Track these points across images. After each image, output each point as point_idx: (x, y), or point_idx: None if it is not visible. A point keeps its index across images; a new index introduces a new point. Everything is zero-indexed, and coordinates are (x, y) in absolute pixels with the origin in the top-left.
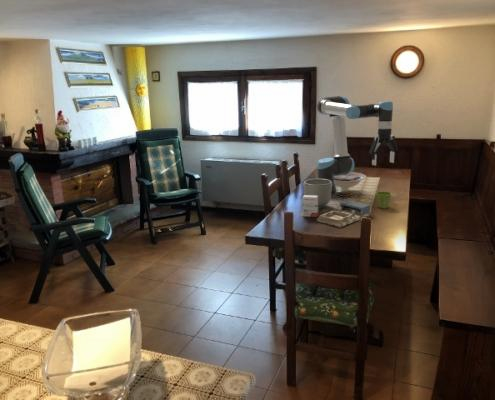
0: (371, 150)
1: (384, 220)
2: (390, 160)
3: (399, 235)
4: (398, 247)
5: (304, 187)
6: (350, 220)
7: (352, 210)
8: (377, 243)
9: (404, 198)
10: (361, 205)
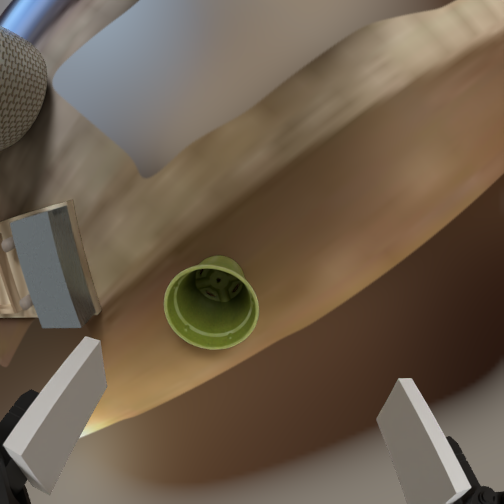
0: None
1: (109, 369)
2: (399, 405)
3: (83, 429)
4: None
5: None
6: (14, 316)
7: None
8: None
9: (410, 253)
10: (51, 308)
